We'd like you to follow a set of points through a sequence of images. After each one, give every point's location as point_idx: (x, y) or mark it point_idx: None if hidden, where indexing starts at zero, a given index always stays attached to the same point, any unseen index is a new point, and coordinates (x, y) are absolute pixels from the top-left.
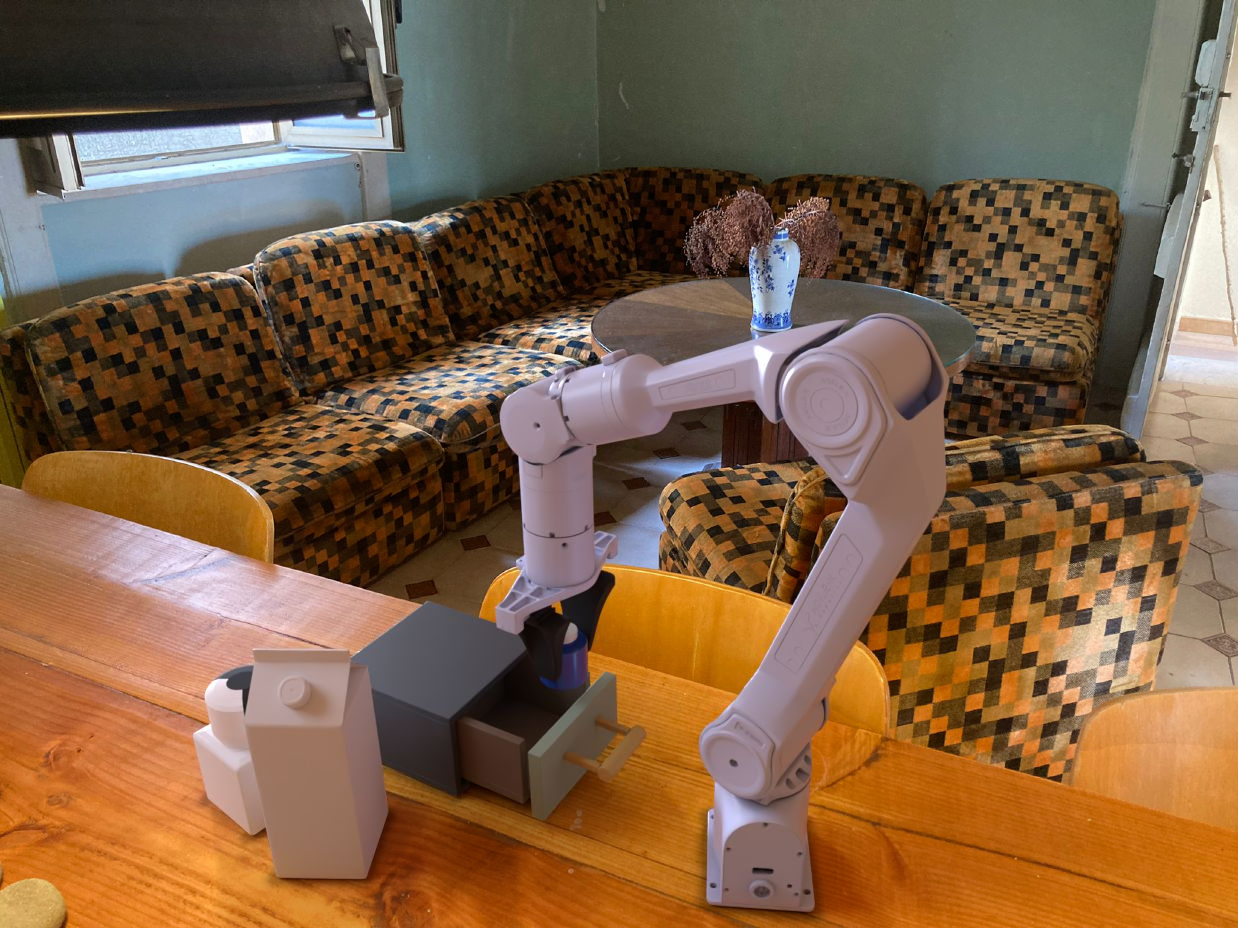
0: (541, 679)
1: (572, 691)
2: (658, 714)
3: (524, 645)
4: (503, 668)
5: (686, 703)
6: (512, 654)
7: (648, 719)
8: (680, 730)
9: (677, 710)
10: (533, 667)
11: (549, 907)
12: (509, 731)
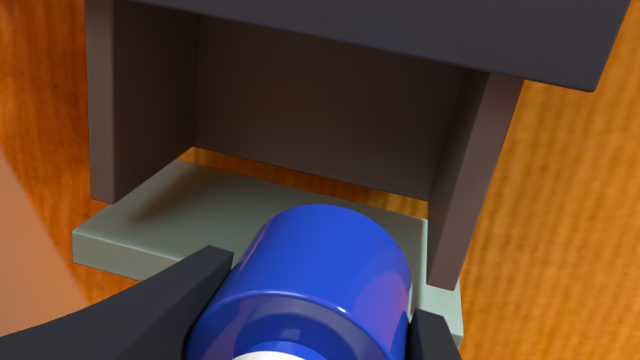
0: (261, 227)
1: (438, 206)
2: (563, 300)
3: (512, 51)
4: (332, 32)
5: (615, 346)
6: (435, 26)
7: (540, 283)
8: (516, 344)
9: (585, 333)
10: (189, 255)
11: (61, 228)
12: None
